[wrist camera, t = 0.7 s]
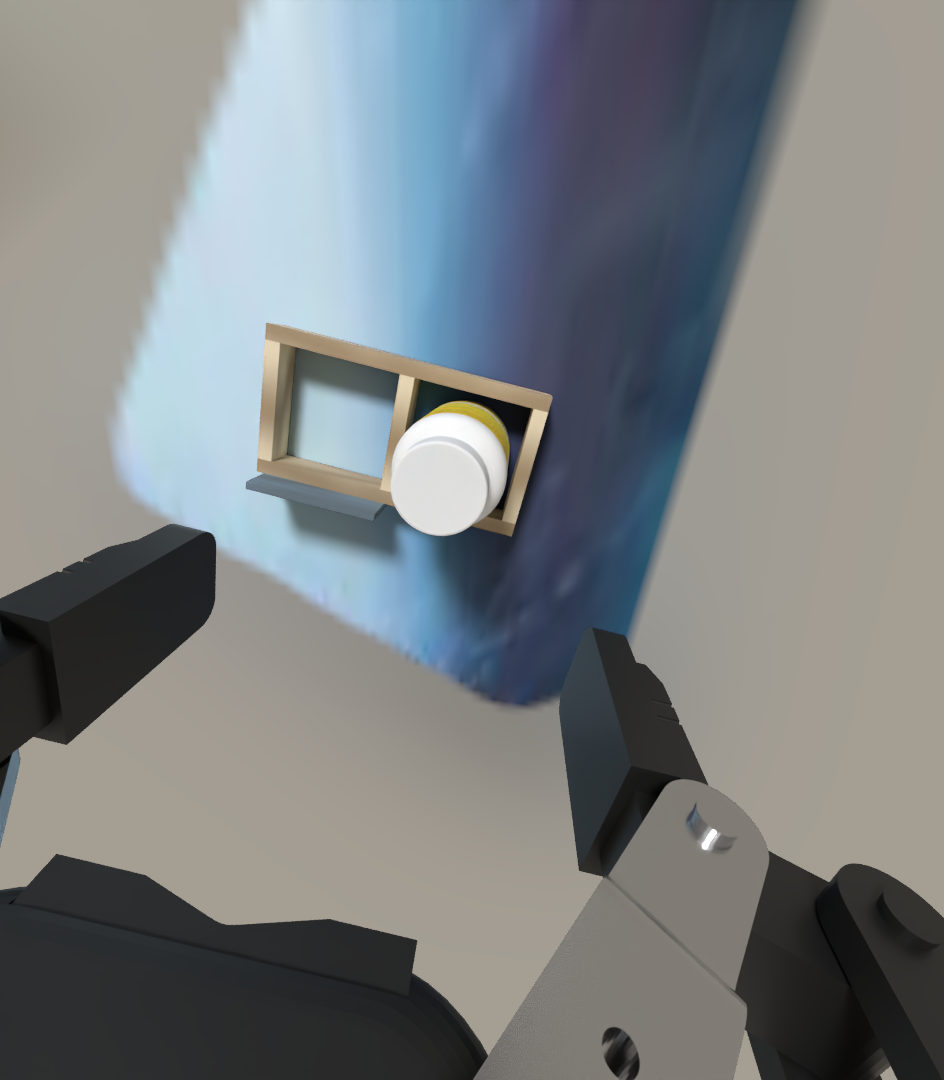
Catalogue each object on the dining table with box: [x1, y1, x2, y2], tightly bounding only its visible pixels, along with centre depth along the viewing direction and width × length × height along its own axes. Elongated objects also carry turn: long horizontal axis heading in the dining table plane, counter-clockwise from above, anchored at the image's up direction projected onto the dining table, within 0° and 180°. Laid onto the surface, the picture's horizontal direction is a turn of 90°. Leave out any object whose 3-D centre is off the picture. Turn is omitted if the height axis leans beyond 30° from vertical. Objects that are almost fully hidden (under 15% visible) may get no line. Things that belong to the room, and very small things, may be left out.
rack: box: [246, 323, 553, 536], centre depth 26 cm, size 8×15×4 cm, turn 76°
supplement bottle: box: [391, 400, 510, 536], centre depth 23 cm, size 5×5×10 cm
